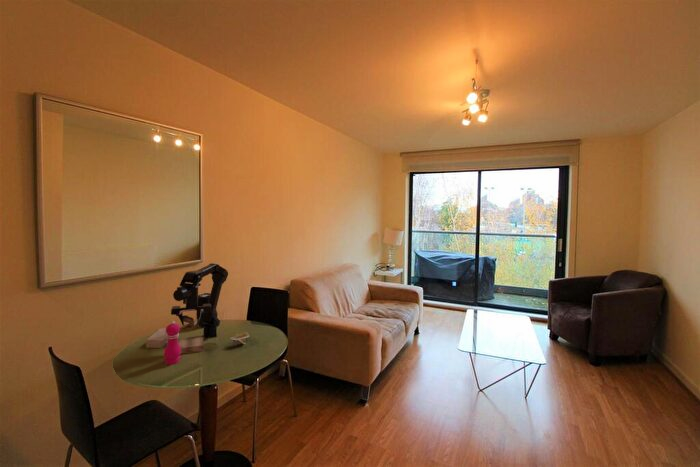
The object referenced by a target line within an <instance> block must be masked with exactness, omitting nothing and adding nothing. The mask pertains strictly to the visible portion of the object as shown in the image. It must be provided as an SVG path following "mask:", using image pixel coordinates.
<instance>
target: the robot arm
mask: <svg viewBox="0 0 700 467" xmlns="http://www.w3.org/2000/svg"><path fill="white" fill-rule="evenodd" d="M209 275H211V280H212V282H213V283H212V287H211V290H210V298H209V302H208V304H203V306H198V295H199V287H200V286H201V281H202V280H203V278H204V277H206V276H209ZM228 276H229V271H228V270H227V269H226V268H224V267H222V266H220V265H219V264H218V263H212V262H211V263H209V264H208V265H206V266H203V267H201V268H199V269H196V270H189V271H186V272H185V273H184V274H183V277H182V279H181V281H180V283H179V286H177V287H176V290H174V291H173V292H174V293H172V296H173V297H172V298H173V299H174V300H175V301H176V302H182V304H183V305H185V307H181V305H174V306H172V307H171V310H170V315H171V316H172V315H173V316H174V315H175V316H176V317H178V319H179V320H180V323H181V325H182V327H183V326H184V325H185V322H184V320H183V316H184V315H183V312H191V311H193V312H194V311H197V310H201V313H200V320H199V324H200V323H201V324H202V326H205V327H203V334H202V337H203V339H208V338H217V336H218V334H217V328H218V327H219V326H220V324H221V320H220V319H219V318H218V311H217V306H218V301H219V298H220V296H221V295H220V294H221V290H222V286H223V284H224V283H225V282H226V281H227V280H228Z"/></svg>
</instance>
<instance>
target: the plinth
mask: <svg viewBox="0 0 700 467" xmlns="http://www.w3.org/2000/svg"><path fill="white" fill-rule="evenodd" d="M178 344H179V346H180V348H181V354H189V353H198V352H204V336H197V337H196V336H195V337H187V338H186V337H185V338H178ZM181 354H180V355H181Z"/></svg>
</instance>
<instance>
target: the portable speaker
mask: <svg viewBox="0 0 700 467" xmlns="http://www.w3.org/2000/svg"><path fill="white" fill-rule="evenodd" d="M210 294H211V292H204V293H201V294H198V306H203V304H208V302H209V298H210ZM200 313H201V310H196V319H199V317H200ZM199 320H200V319H199ZM198 324H199V323H198ZM204 327H205V326H202V324H201V323H200V324H199V325H198V328H204Z"/></svg>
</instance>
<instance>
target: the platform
mask: <svg viewBox="0 0 700 467" xmlns="http://www.w3.org/2000/svg"><path fill="white" fill-rule="evenodd" d="M249 337H250V333H248V332H246V331H245V332H241V333H237V334H235V336H232V337H230V340H232V346H233V347H235V346H237V345H241V344H242V345H246V343H247V342H248V341H247V340H248V338H249Z"/></svg>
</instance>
